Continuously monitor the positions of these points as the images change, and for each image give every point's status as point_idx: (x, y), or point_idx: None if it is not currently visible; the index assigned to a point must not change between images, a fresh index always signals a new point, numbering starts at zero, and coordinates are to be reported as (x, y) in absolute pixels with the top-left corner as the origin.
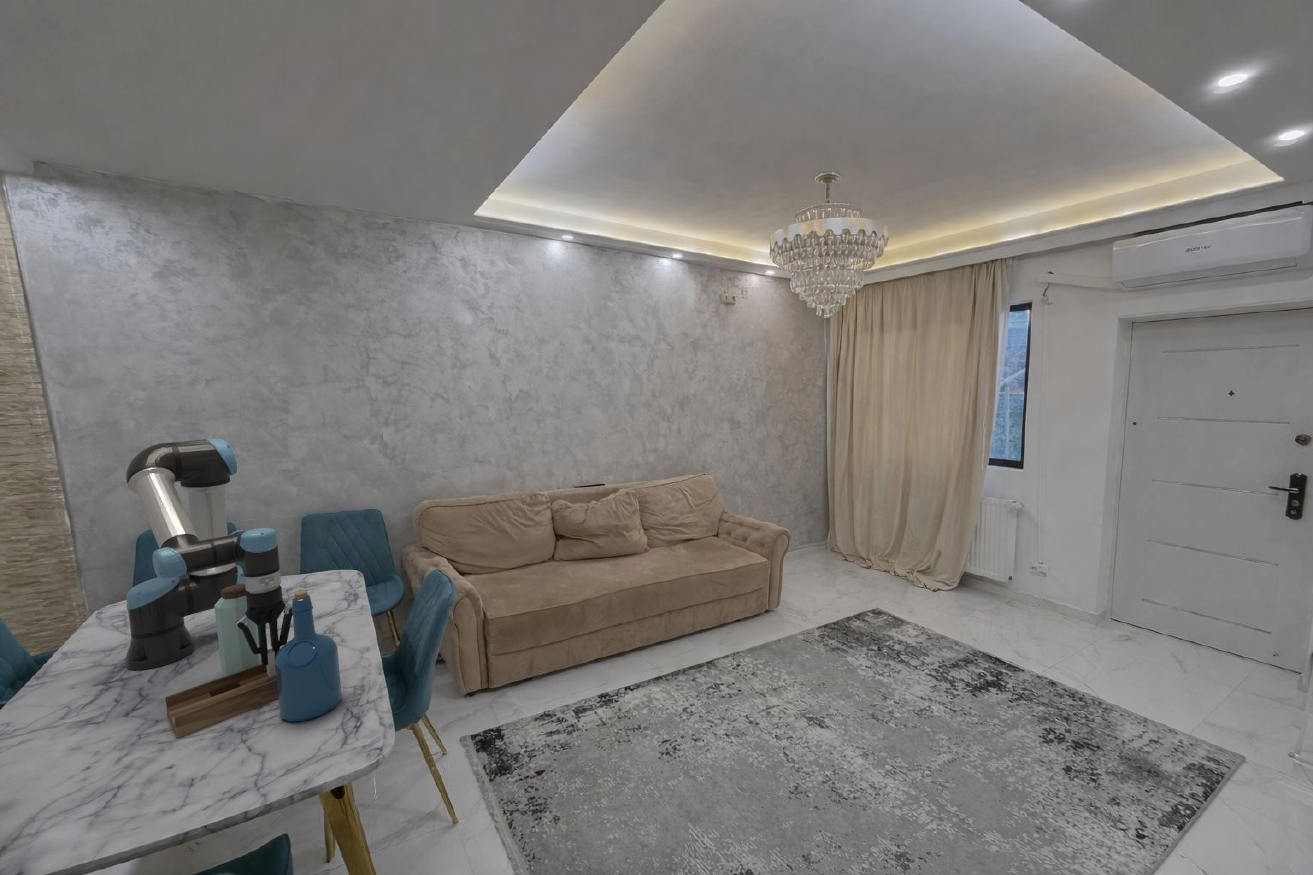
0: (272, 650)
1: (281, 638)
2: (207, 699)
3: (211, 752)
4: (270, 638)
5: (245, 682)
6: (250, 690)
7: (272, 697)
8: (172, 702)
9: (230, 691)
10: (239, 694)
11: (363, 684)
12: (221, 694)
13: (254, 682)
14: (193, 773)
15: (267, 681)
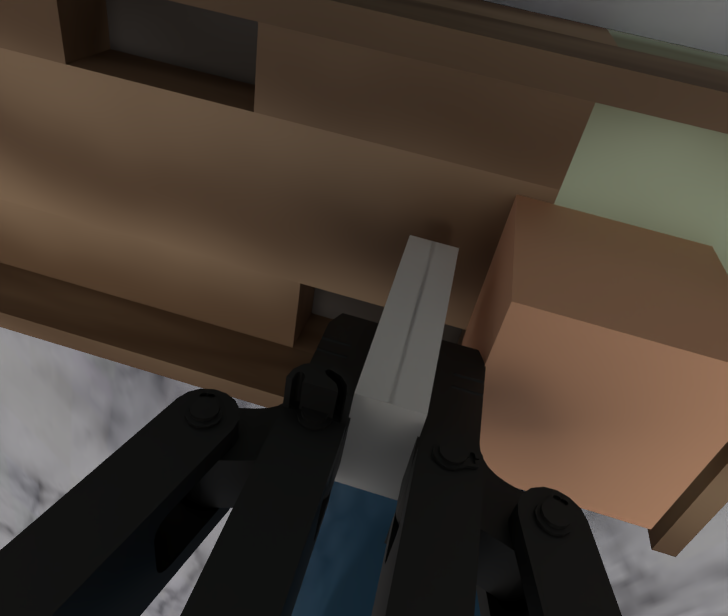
0: (399, 469)
1: (540, 568)
2: (41, 73)
3: (85, 430)
4: (395, 557)
5: (298, 70)
6: (218, 387)
7: None
8: None
9: (178, 116)
10: (160, 371)
11: (668, 595)
12: (124, 94)
13: (340, 151)
14: (40, 467)
15: (400, 238)
